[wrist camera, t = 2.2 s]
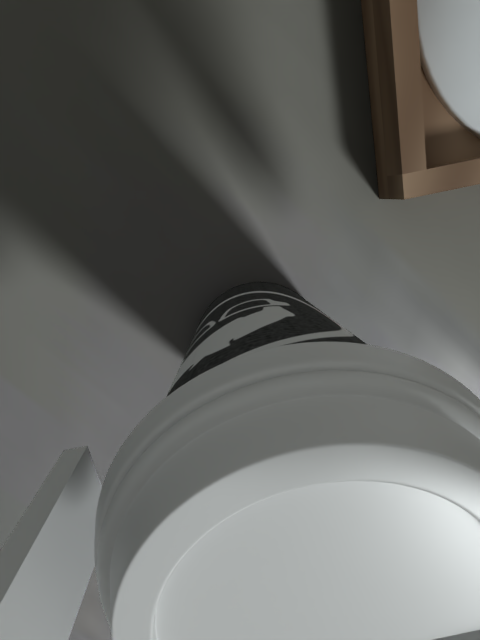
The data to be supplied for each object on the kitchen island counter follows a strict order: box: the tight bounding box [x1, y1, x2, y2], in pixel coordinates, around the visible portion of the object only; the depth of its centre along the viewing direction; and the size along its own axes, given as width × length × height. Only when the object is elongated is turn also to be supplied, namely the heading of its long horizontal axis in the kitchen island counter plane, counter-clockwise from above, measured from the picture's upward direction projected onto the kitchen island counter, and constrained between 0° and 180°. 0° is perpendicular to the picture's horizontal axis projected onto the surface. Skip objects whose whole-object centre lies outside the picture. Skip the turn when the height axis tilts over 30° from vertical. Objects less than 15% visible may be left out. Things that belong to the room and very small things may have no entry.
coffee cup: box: [94, 282, 480, 640], centre depth 14 cm, size 10×10×15 cm
